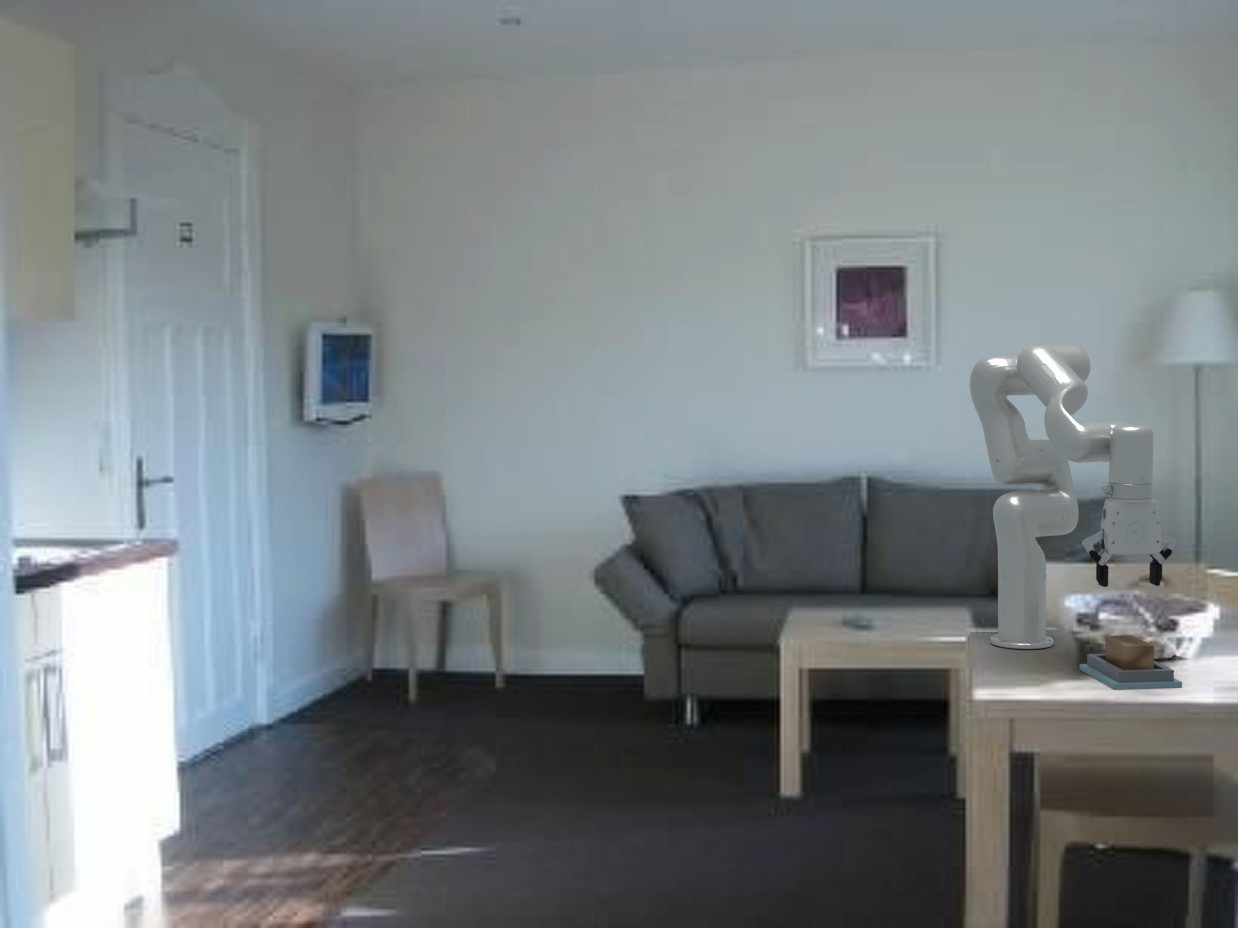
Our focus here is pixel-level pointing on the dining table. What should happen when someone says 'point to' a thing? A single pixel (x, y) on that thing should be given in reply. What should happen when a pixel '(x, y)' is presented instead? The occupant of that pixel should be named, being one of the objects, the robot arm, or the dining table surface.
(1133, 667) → the walnut block
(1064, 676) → the dining table surface
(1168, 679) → the cradle
